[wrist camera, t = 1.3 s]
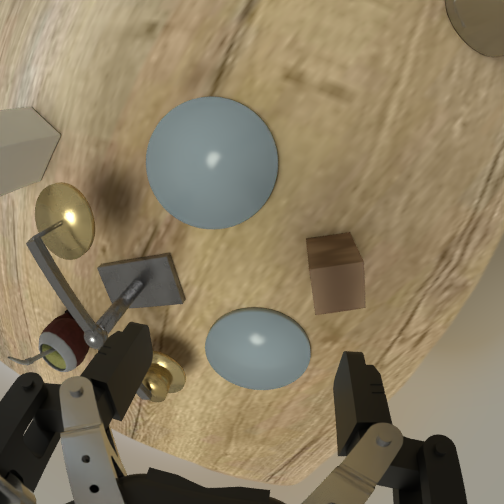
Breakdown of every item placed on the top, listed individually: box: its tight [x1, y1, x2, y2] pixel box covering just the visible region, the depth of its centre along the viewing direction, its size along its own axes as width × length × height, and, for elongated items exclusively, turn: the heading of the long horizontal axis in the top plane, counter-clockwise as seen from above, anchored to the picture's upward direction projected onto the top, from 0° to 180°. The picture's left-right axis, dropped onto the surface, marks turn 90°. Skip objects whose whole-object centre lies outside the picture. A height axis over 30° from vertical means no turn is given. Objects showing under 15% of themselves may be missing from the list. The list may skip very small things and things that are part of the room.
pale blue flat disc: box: [146, 97, 278, 229], centre depth 29 cm, size 13×13×1 cm
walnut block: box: [306, 232, 366, 315], centre depth 29 cm, size 4×4×7 cm
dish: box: [205, 308, 310, 390], centre depth 37 cm, size 13×13×1 cm
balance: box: [26, 182, 186, 402], centre depth 30 cm, size 10×28×14 cm, turn 12°
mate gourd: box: [8, 310, 90, 372], centre depth 34 cm, size 8×8×15 cm
